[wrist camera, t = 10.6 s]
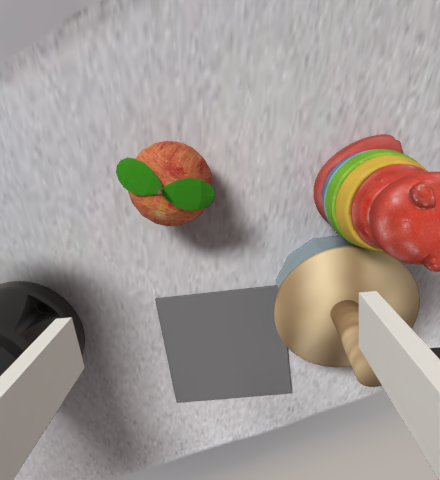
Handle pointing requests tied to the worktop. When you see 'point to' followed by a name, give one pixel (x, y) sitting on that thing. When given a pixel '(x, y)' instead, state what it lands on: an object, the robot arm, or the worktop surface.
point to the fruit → (167, 183)
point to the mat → (224, 344)
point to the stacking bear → (382, 200)
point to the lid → (340, 304)
